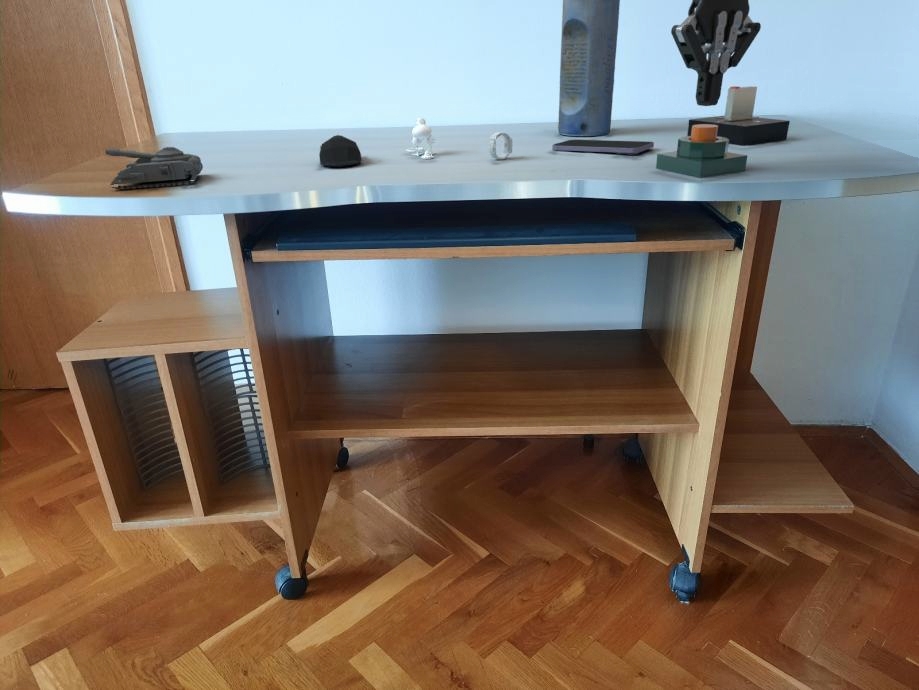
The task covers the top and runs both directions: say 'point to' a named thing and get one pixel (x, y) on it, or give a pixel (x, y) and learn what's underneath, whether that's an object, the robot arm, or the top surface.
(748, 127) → the dial panel
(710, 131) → the orange short cylinder
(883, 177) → the top surface
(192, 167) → the tank toy
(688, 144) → the green peg socket
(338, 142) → the gaming mouse
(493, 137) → the smartwatch
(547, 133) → the top surface
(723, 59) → the robot arm
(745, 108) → the white block
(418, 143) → the figurine
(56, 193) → the top surface
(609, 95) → the bottle
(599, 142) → the smartphone
